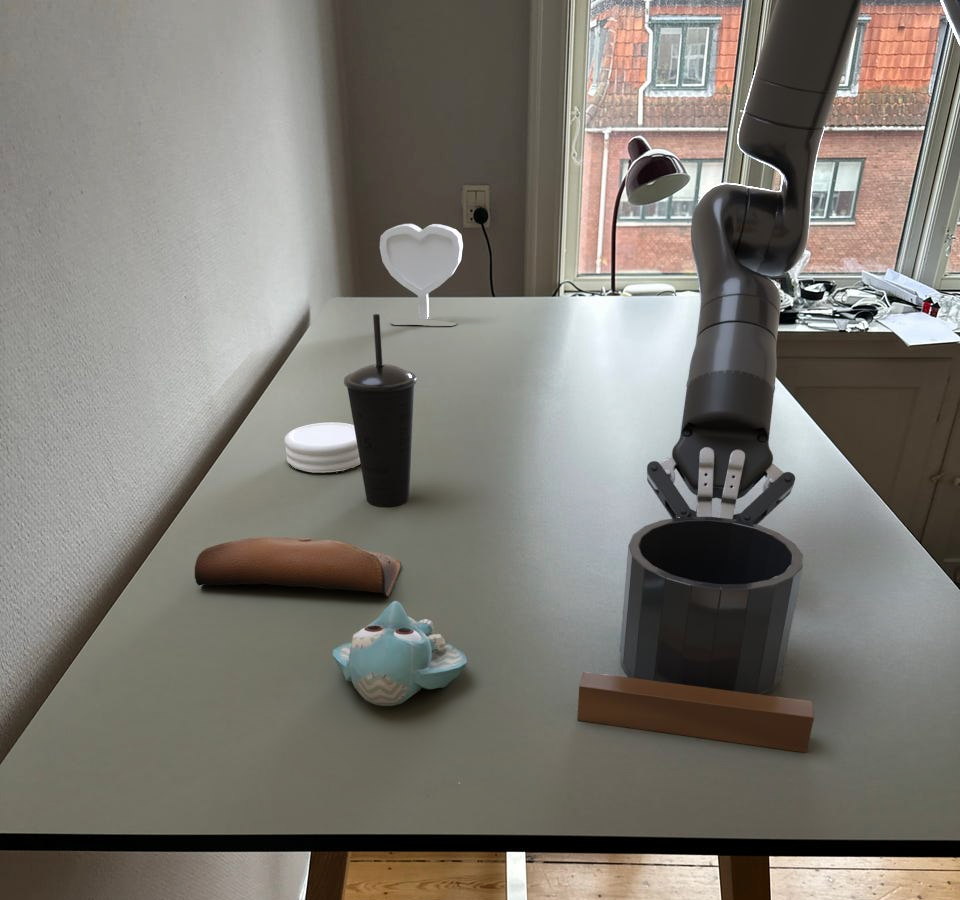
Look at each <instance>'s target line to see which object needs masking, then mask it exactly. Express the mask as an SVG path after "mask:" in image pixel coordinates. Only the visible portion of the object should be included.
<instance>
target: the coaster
mask: <svg viewBox="0 0 960 900" xmlns="http://www.w3.org/2000/svg"><path fill="white" fill-rule="evenodd" d="M284 445H285V454H286V462H287V461H288V462H287V464H288V463H290V464H291V465H293V466H295V467H297V468H301V469H305V470H312V471H336V470H343V469H349V468H352V467H355V466H358V465H360V458H359V452H358V447H357V441H356V435H355V429H354V424H352V423H351V424H350V423H345V422H333V421H332V422H317V423H310V424H305V425H302V426H299V427H296V428H293V429H292V430H290V431H289V432H287V434H286V435H285V437H284ZM360 466H361V465H360ZM358 467H359V466H358Z"/></svg>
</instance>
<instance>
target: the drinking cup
mask: <svg viewBox="0 0 960 900" xmlns="http://www.w3.org/2000/svg"><path fill="white" fill-rule="evenodd" d="M372 320H373V336H374V350H375V351H374V352H375V364H370V365H366V366H363V367H361V368H358V369H357V370H354V371H353V372H350V373H348V374H347V375H345V376H344V378H343V384H344V387H346V388H347V394H348V399H349V406H350V411H351V416H352V422H353V425H354V429H355V435H356V441H357V447H358V452H359V458H360V464H361V465H360V469H361V475H362V480H363V486H364V492H365V498H366V501H367V503H369V504H370V505H372V506H375V507H386V508H389V507H396V506H401V505H403V504H405V503H407V502H408V501H409V499H410V490H411V488H410V487H411V466H412V465H411V464H412V441H413V422H414V421H413V420H414V419H413V417H414V397H415V396H414V394H415V385H416V384H417V375H416V373H414V372H411V371H409V370H406V369H404V368H402V367H399V366H397V365H392V364H387V363H383V348H382V331H381V330H382V329H381V314H379V313H374V314H373V315H372Z"/></svg>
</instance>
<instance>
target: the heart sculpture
mask: <svg viewBox="0 0 960 900" xmlns="http://www.w3.org/2000/svg"><path fill="white" fill-rule="evenodd" d="M379 238H380V239H379V251H380V256H381V262H382V264H383V265H384V267H385V268H386V270H387V271H388V274H389V275H390V276H391V277H392V278H393V279H394V280H395V281H397V283H399V284H400V285H402V287H404V288H406V289H407V290H409V291H410V292H412V293H413V294H415V295H416V296H417V302H418V303H417V304H418V319H419V318H424V319H428V317H429V318H430V306H429V305H430V304H429V294H430V293H431V292H432V291H434V290H436V289H438V288H439V287H440V286H441V285H443V284H445V282H446V281H447V280H448V279H449V278H451V277H452V276H453V275H454V273H455V272H456V270H457V268H458V266H459V265H460V263H461V261H462V255H463V248H464V243H463V237H462V234H461V233H460V232H459V231H458V230H457V229H456V228H453V227H451V226H449V225H444V224H440V223H432V224H430V225H427V226H425V227H424V228H423V229H422V228H421V227H420V226H418V225H416V224H414V223H402V224H399V225H396V226H393V227H391V228H388V229H387V230H384V232H383V233H382V234H381V235H380V237H379Z"/></svg>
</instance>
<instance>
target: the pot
mask: <svg viewBox="0 0 960 900" xmlns="http://www.w3.org/2000/svg"><path fill="white" fill-rule="evenodd" d="M625 569H626V571H625V583H624V594H623V605H622V618H621V629H620V630H621V631H620V643H619V653H620V654H619V661H620V665H621V667H622V670H623V671H624V673H625V675H626V677H628V678H636V679H643V680H651V681H659V682H666V683H674V684H682V685H689V686H697V687H705V688H712V689H720V690H728V691H735V692H743V693H751V694H758V695H766V696H770V694H772V693H773V692H774V690H776V689H777V687H778V685H779V684H780V682H781V679H782V678H781V677H782V676H783V672H784V667H785V662H786V657H787V651H788V646H789V642H790V641H789V640H790V636H791V631H792V626H793V625H792V624H793V619H794V614H795V609H796V603H797V598H798V594H799V588H800V584H801V578H802V573H803V569H804V554H803V552H802V551H801V550H800V549H799V547H798V546H797V544H796V543H795V542H794V541H792V540H790V539H789V538H788V537H785V535H782V534H781V533H779V532H777V531H775V530H772V529H770V528H768V527H765V526H763V525H760V524H758V525H756V524H752V523H748V522H744V521H739V520H734V519H727V518H718V516H711V517H680V518H673V519H672V518H668V519H661V520H658V521H655V522H653V523H649V524H647V525H644V526H643V527H641V528H640V529H639V530H638V531H636V532H635V533H633V534H632V536H631V538H630V540H629V543H628V547H627V557H626V568H625Z"/></svg>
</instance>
